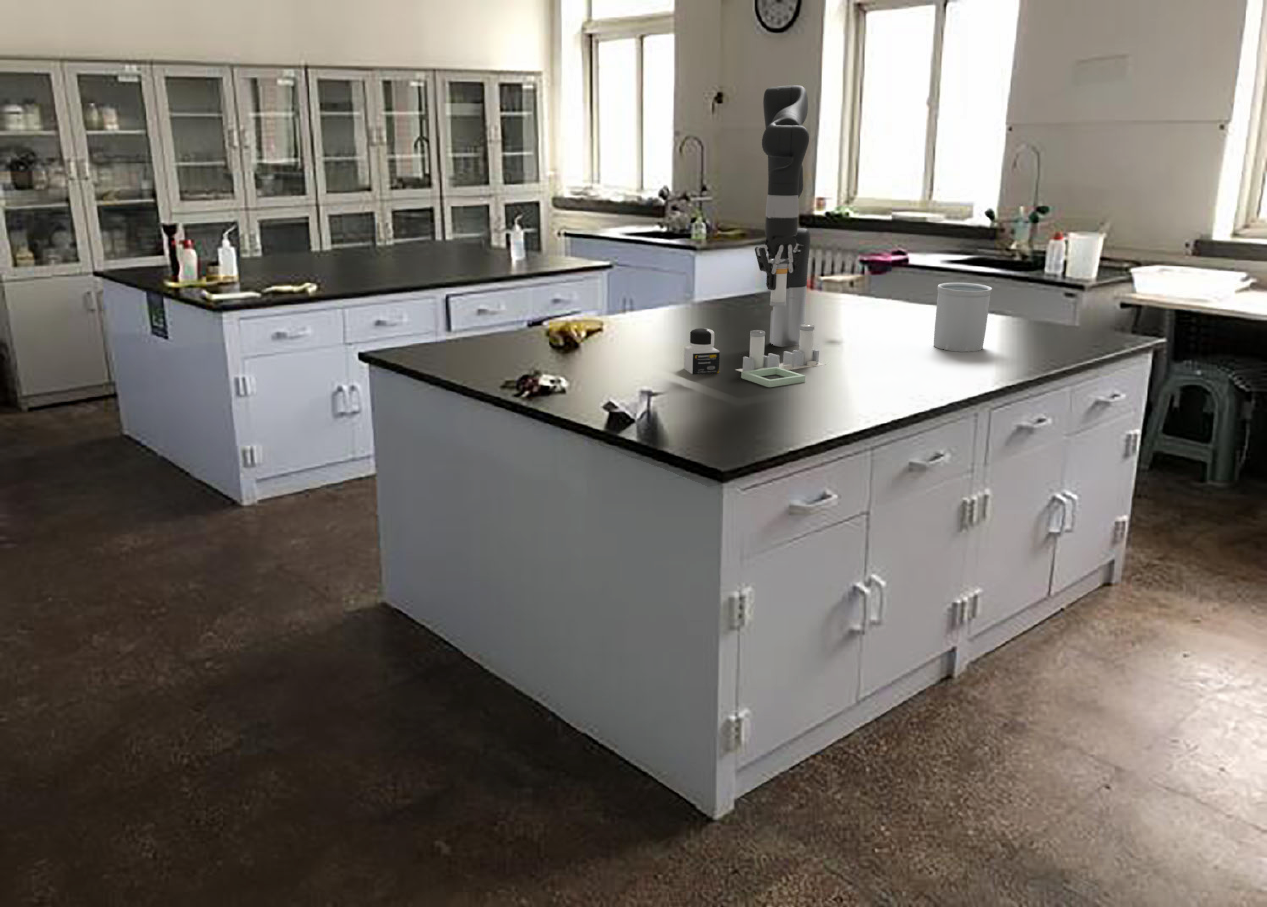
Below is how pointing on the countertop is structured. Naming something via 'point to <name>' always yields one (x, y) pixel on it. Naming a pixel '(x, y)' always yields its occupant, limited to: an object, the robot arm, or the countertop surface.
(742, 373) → the tray
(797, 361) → the holder
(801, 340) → the white capsule
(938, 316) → the utensil holder
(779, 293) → the fuse marked
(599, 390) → the countertop surface
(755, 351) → the cylinder
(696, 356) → the medicine bottle
